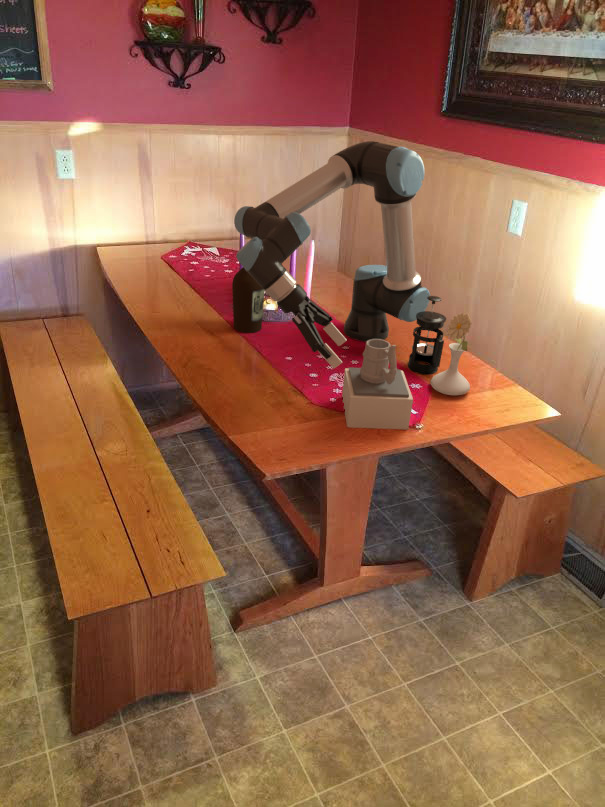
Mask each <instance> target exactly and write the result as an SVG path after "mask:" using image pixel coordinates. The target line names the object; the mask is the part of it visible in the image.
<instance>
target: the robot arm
mask: <svg viewBox="0 0 605 807" xmlns="http://www.w3.org/2000/svg"><path fill="white" fill-rule="evenodd" d="M424 178H425V165H424V161H423V159H422V158H421V156H420V155H419V153H417V152H416V151H414V150H412V149H409V148H407V147H404V146H396V145H391V144H387V143H383V142H380V141H375V140H369V141H362V142H359V143H355V144H353V145H350V146H348V147H346V148H343V149H342V150H340V151H338V152H336V153H335V154H334V155H331V156H330V157H329V159H328V160H327V163H326V164H324V165H322V166H321V167H319V168H318V169H316V170H314V171H313V172H311V173H310V174H308V175H306V176H305V177H302V178H301V179H300V180H298V181H296V182H295V183H292V184H291V185H290V186H288V187H286V188H285V189H284V190H282V191H280V192H279V193H277V194H275V195H274V196H272V197H270V198H269V199H267V200H266V201H264V202H262V203H260V204H258V205H257V206H255V207H254V206H251V205H250V206H249V205H246V206H242V207H240V208H239V209H238V210H237V211H236V212H235V215H234V217H233V218H234V220H233V224H234V228H235V229H236V231H237V232H238V233H239V234H241V235H242V236H245V237H246V238H247V239H248V238H249V240H248V241H247V242H246V243H245V244H244V245H243V246H242V247H241V248H240V249H239V250H238V251H237V252H236V255H235V256H236V257H235V258H236V259H237V261H238V262H239V264H240V265H241V266H242V268H243V267H244V269H245V270H246V271H247V272H248V273H249V274H250V275H251V276H252V277H253V278H254V279H255V280H256V282H257V283H258V284H259V285H260V286H261V287H262V288H263V289H264V290H265V296H269V297H270V298H271V299H272V300H273V301H274V302H276V305H277V306H278V308H279V309H280V310H281V311H282V312H283V314H289V313H292V314H293V315H294V316H293V318H291V320H292V322H293V323H294V325H295V326H296V327H297V328H298V330H299V333H301V335H302V337H303V338H304V340H305V342H306V343H307V345H308V346H309V347H310V349H311V351H312V352H313V353H316V352H318V354H320V355H321V357H322V358H324V359H325V361H326V362H327V363H328V364H329V365H330V366H331V367H332V369H336V368H337V367H338V366H340V365H342V364H343V361H342V359H341V358H339V356H338V355H337V354H336V352H334V350H333V349H332V348H331V346H329V345H328V344H327V343H326V342H325V343H324V341H323V339H322V337H321V335H320V333H319V331H318V329H317V327H316V325H315V323H316V324H317V325H320V326H321V327H323V331H324V332H325V333H326V334H327V335H328V336H329V338H331V340H332V341H334V343H335V344H336V346H338V347H340V346H342V345H343V344H344V343H346V342H347V338H346V337H345V336H347V337H349V338H350V339H352V340H357V341H361V342H365V343H366V342H367V341H368V340H371V339H382V340H385V339H387V338H388V337H389V330H390V328H389V323H388V319H387V315H390V316H392V317H394V318H396V319H398V320H400V321H403V322H407V323H413V322H415V321H417V318H416V314H417V313H419V312H423V311H427V308H428V305H429V304H430V300H428V299H427V297H428V296H431V293H430V291H429V289H428V288H426V287H425V286H424V287H423V286H422V277H421V274H420V273H419V272H417V271H416V257H415V242H414V239H415V238H414V222H413V209H412V208H413V207H412V201H413V200H414V199H415V198H416V196H417V193H418V192H419V191H420V189H421V187H422V185H423V183H422V181H424ZM360 184H361V185H366V186H369V187H371V188H373V193H374V195H373V196H374V200H375V202H377V203H378V204H379V205H380V210H381V220H382V232H383V241H384V254H385V255H384V256H385V264H386V265H385V264H384V265H382V264H367V265H362V266H359V267H357V268H356V270H355V271H354V272H355V273H354V278H353V283H352V284H353V285H352V286H353V288H352V296H351V309H350V311H349V313H348V316H347V317H346V320H345V322H344V326H343V333H344V335H343V334H342V333H341V332H340V330H339V329H338V328H337V327H336V325H334V323H333V322H332V321H333V320H334V318H333V317H332V316H331V315H330V314H329V313H328V312H326V311H325V310H324V309H323V308H321V307H320V306H319V305H318V304H317V303H315V302H314V301H312V300H311V299H310V297H309V296H308V293H307V291H305V289H304V288H303V287H302V286H301V284H299V283H297V280H296V279H295V278H294V277H293V275H292V274H291V273H290V272H289V271H288V270H287V268H286V267H285V266H284V265H283V263H284V262H285V261H286V260H287V259H288V258H290V256H291V255H292V254H293V253H294V252H295V251H296V250H297V249H298V248H300V247H301V246H302V245H303V244H304V242H305V241H306V240H307V239H308V238H309V236H310V235H311V233H312V232H311V231H312V230H311V226H310V223H308V221H307V219H306V218H305V217H304V216H303V215H301V214H303V213H304V212H306V211H307V210H308V209H310V208H312V207H313V206H315V205H317V204H318V203H319V202H321V201H323V200H324V199H326V198H328V197H329V196H331V195H332V194H334V193H335V192H337V191H338V190H340V189H345V190H346V189H349V188H350V187H352V186H354V185H360Z"/></svg>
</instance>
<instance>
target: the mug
mask: <svg viewBox="0 0 605 807" xmlns="http://www.w3.org/2000/svg"><path fill="white" fill-rule="evenodd" d="M396 347H397V345H396V344H391V343H390V342H389V341H387V340H385V339H384V340H382V339H371V340H368V341H367V342H365V348H364V350H363V352H362V356H363V359H362V365H361V367H360V368H361V369H360V373H361V378H362V379H363V380H364V381H366V382H369V383H375V384H379V383H383V382H385V381H387V384H391V383H392V382H393V381H394V379H395V377H396V372H397V369H398V367H397V356H396ZM388 369H389V370H388Z"/></svg>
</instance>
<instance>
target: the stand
mask: <svg viewBox="0 0 605 807" xmlns="http://www.w3.org/2000/svg"><path fill="white" fill-rule="evenodd" d="M360 369H361V367H350V366H349V367H347V368H344V372H343V374H344V375H343V384H342V385H343V387H342V392H341V395H342V396H341V398H342V397H343V400H342V404H343V403H344V406H343V410H344V409H345V412H344V417H345V421H346V422H345V423H346V427H347V428H353V429H354V428H356V429H357V428H358V429H359V428H360V429H385V430H409V429H410V428H409V427H410V420H411V414H412V409H413V403H414V398H413V395H412V392H411V390H410V387H409V384H408V381H407V378H406V375H405V372H404V371H403V370H401V369H399V368H397V372H396V377H395V379H394V381H393V382H392V383H391V384H387V381H385V382H383V383H379V384H375V383H369V382H366V381H364V380H363V379H362V378H361V373H360ZM389 369H390V368H388V370H389Z"/></svg>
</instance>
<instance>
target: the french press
mask: <svg viewBox="0 0 605 807" xmlns="http://www.w3.org/2000/svg"><path fill="white" fill-rule="evenodd" d="M427 299H428V300H429V302H431V305H432V307H431V311H428V310H425V311H423V312H419V313H417V314H416V318H417V320H416V324H417V327H415V328H413V333H412V336H413V344H412V346H411V353H410V354H409V356H408V362H407V369H408V370H409V371H411V372H413V373H416V374H419V375H424V376H425V375H434V374H436V373H437V372H438V371H439V368H440V365H441V361H442V360H441V359H442V356H443V355H442V354H443V349H444V343H445V341H444V332H443V331H442V330H441V329H442V328H443V327H444V326H445V323H446V321H447V317H446V316H445V315H444V314H442V313H439V312H436V311H434V307H435V304H436V302H441V301H442V298H441V297H440V296H436V295H430V296H428V297H427ZM422 331H427V334H426V335H427V336H426V337H425V336H422ZM430 332H432V333H433V332H434V333H436V337H429V334H430ZM421 341H422V342H421ZM424 342H425V343H424ZM431 343H434V344H431Z"/></svg>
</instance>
